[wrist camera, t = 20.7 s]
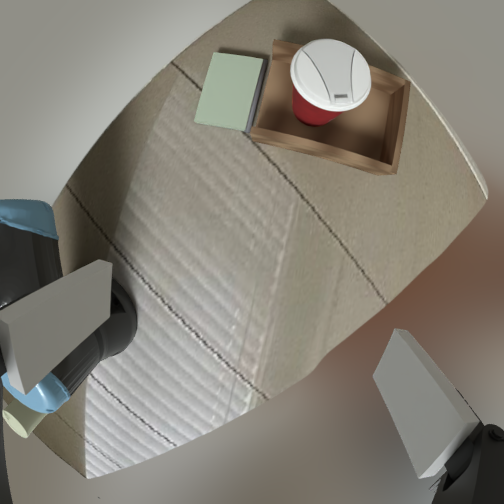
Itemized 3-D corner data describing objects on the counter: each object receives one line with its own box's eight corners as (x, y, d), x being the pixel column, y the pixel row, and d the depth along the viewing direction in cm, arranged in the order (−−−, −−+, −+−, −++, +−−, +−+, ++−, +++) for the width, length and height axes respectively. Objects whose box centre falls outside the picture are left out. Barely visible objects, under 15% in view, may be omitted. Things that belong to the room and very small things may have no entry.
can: (29, 383, 52) (4, 407, 40) (53, 410, 53) (30, 436, 41) (20, 392, 53) (-2, 414, 42) (42, 416, 55) (21, 441, 43)
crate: (253, 141, 37) (250, 132, 31) (273, 59, 35) (274, 39, 28) (377, 175, 37) (396, 174, 31) (392, 94, 34) (410, 81, 28)
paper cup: (345, 132, 35) (383, 106, 21) (289, 137, 36) (300, 110, 22) (334, 79, 33) (363, 34, 20) (279, 83, 34) (283, 35, 20)
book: (250, 133, 37) (196, 124, 37) (268, 63, 35) (216, 55, 35) (249, 131, 36) (193, 122, 36) (267, 58, 33) (214, 51, 33)
